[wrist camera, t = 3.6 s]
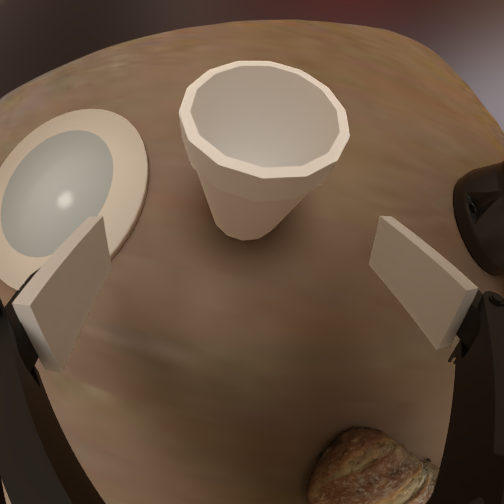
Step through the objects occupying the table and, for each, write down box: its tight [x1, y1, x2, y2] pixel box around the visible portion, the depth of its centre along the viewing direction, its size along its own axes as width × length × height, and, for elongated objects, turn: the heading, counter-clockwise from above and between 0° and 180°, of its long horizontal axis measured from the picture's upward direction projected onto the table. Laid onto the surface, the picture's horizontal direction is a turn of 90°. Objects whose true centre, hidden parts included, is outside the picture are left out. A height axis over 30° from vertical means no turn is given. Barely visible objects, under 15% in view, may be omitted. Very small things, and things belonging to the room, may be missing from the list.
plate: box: [0, 109, 149, 290], centre depth 24 cm, size 22×22×1 cm
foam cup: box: [179, 61, 350, 241], centre depth 20 cm, size 10×9×13 cm
